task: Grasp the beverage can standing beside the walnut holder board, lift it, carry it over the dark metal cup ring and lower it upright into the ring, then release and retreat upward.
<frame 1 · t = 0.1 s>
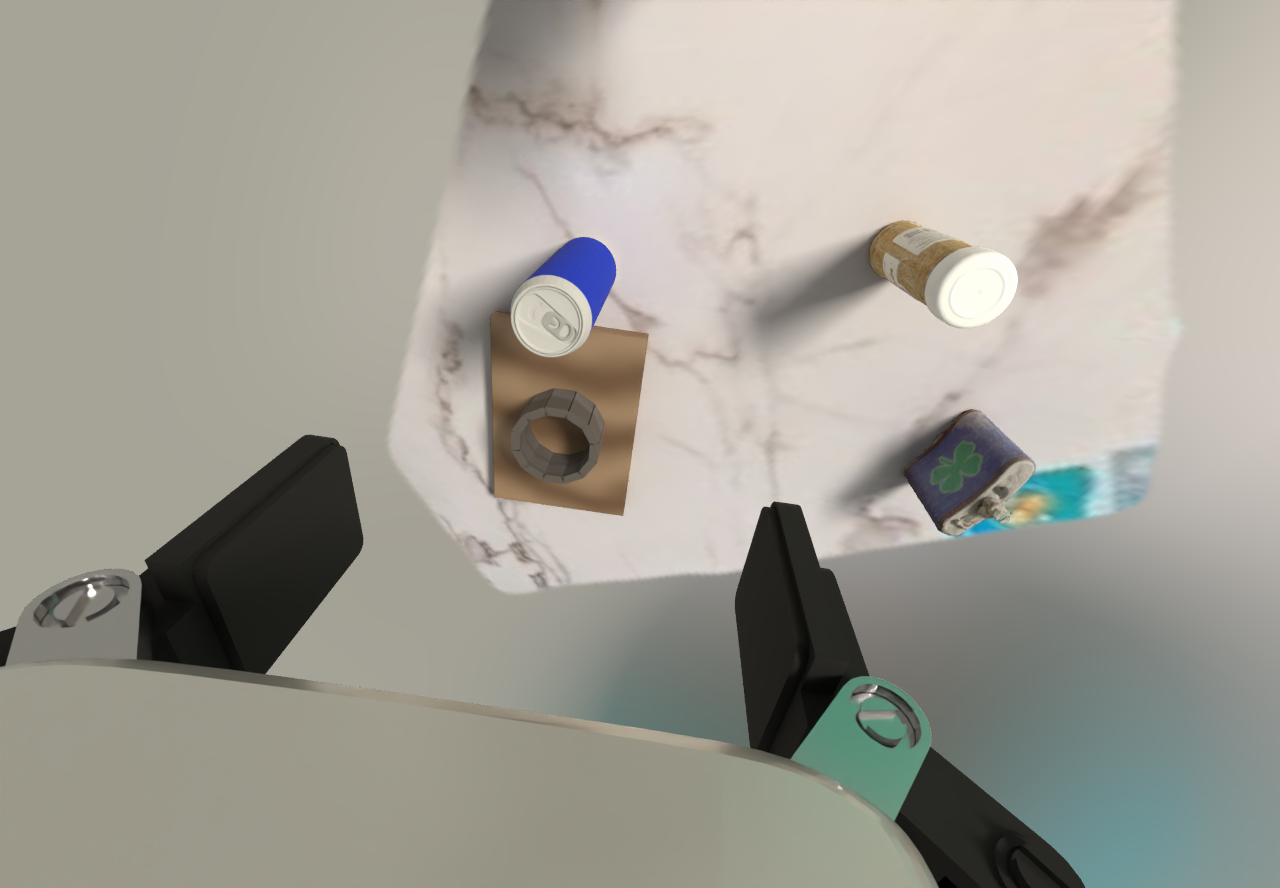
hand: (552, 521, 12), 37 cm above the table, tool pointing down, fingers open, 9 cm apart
flask: (941, 445, 51), on the table
sprinkles bottle: (896, 249, 42), on the table
beverage can: (587, 267, 45), on the table
cup holder: (566, 419, 52), on the table
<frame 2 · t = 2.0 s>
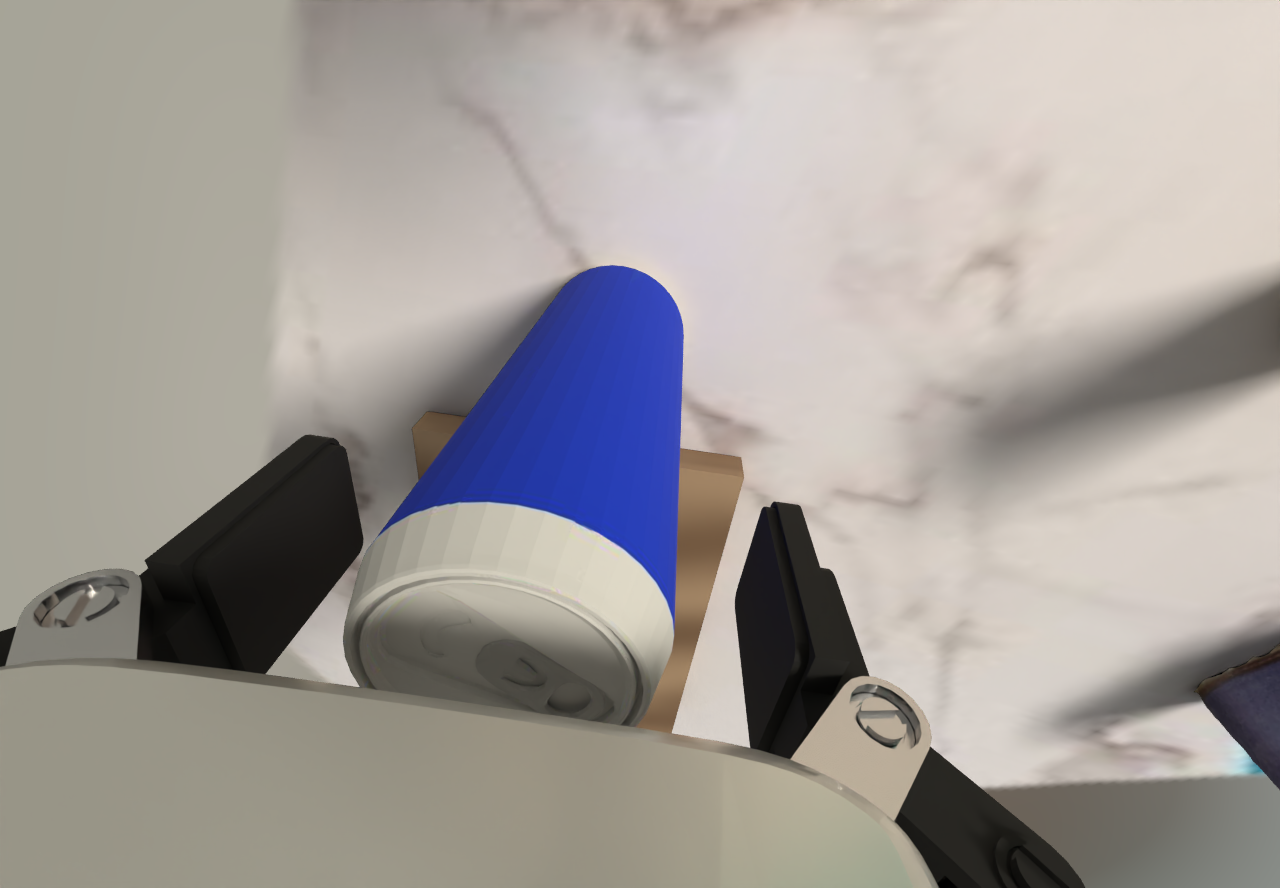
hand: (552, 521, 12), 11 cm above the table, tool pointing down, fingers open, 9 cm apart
beverage can: (618, 327, 20), on the table
cup holder: (572, 589, 28), on the table
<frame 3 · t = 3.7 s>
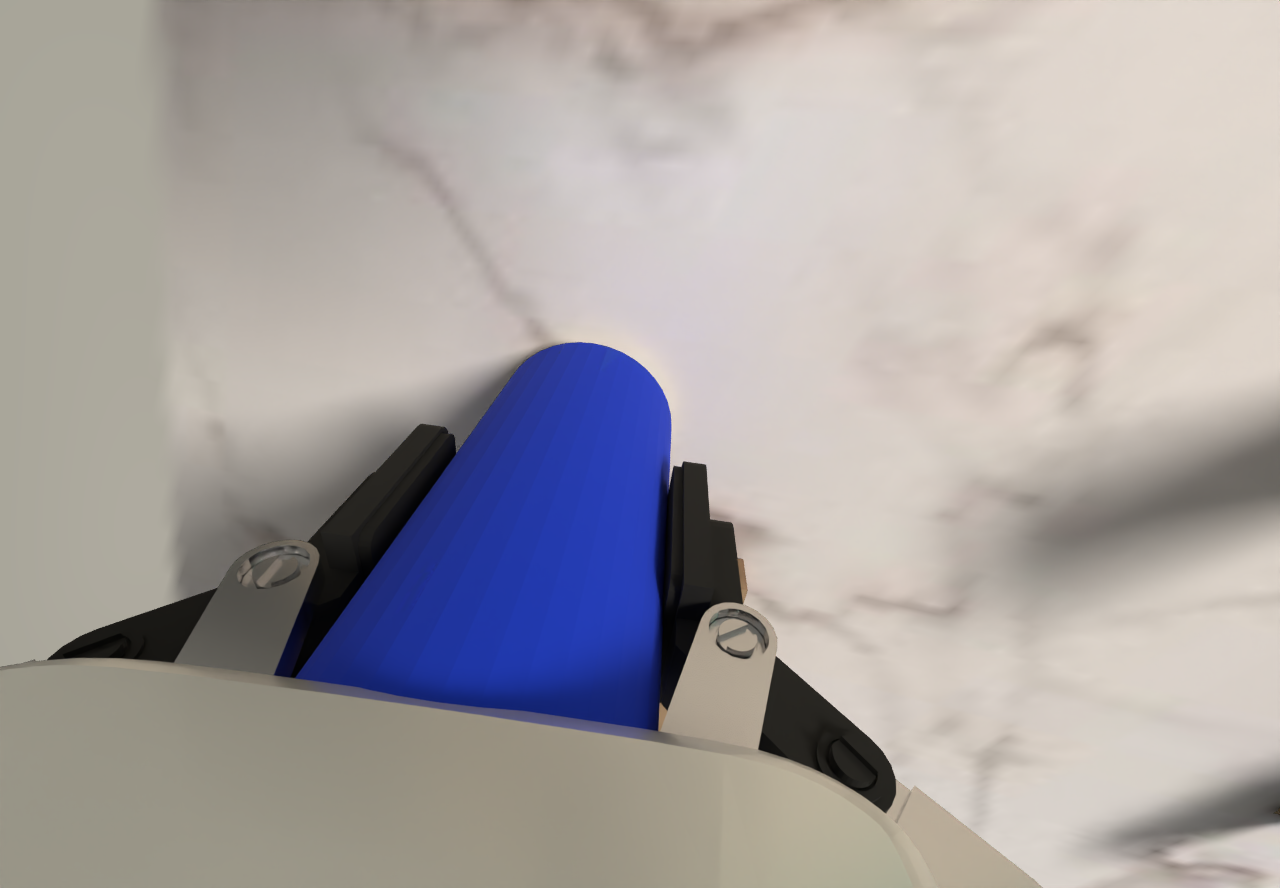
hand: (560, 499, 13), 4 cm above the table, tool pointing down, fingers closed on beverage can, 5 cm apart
beverage can: (590, 411, 17), on the table, touching gripper
cup holder: (544, 698, 24), on the table
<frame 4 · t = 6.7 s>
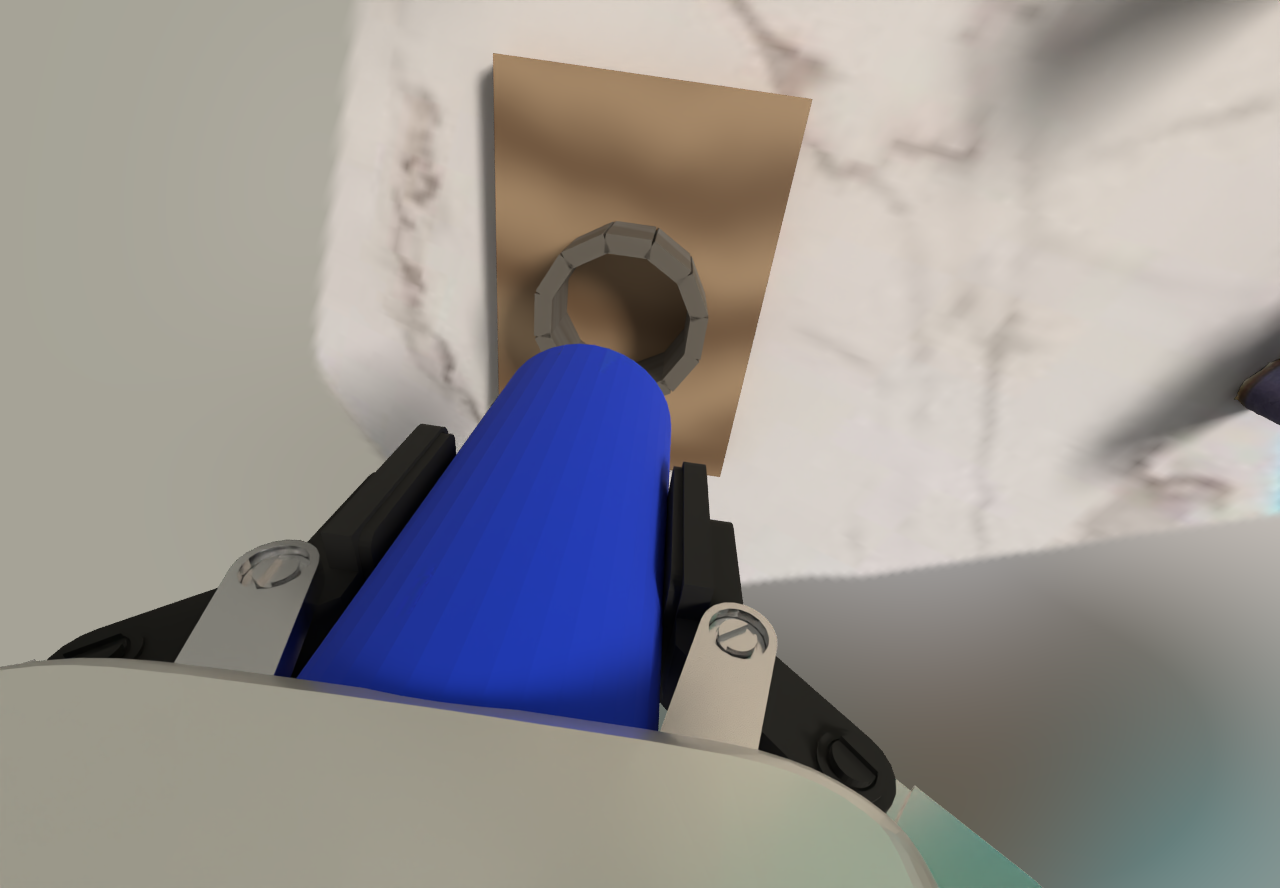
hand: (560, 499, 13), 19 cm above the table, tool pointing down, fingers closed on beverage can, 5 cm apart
beverage can: (590, 412, 16), point 14 cm above the table, touching gripper
cup holder: (629, 296, 29), on the table
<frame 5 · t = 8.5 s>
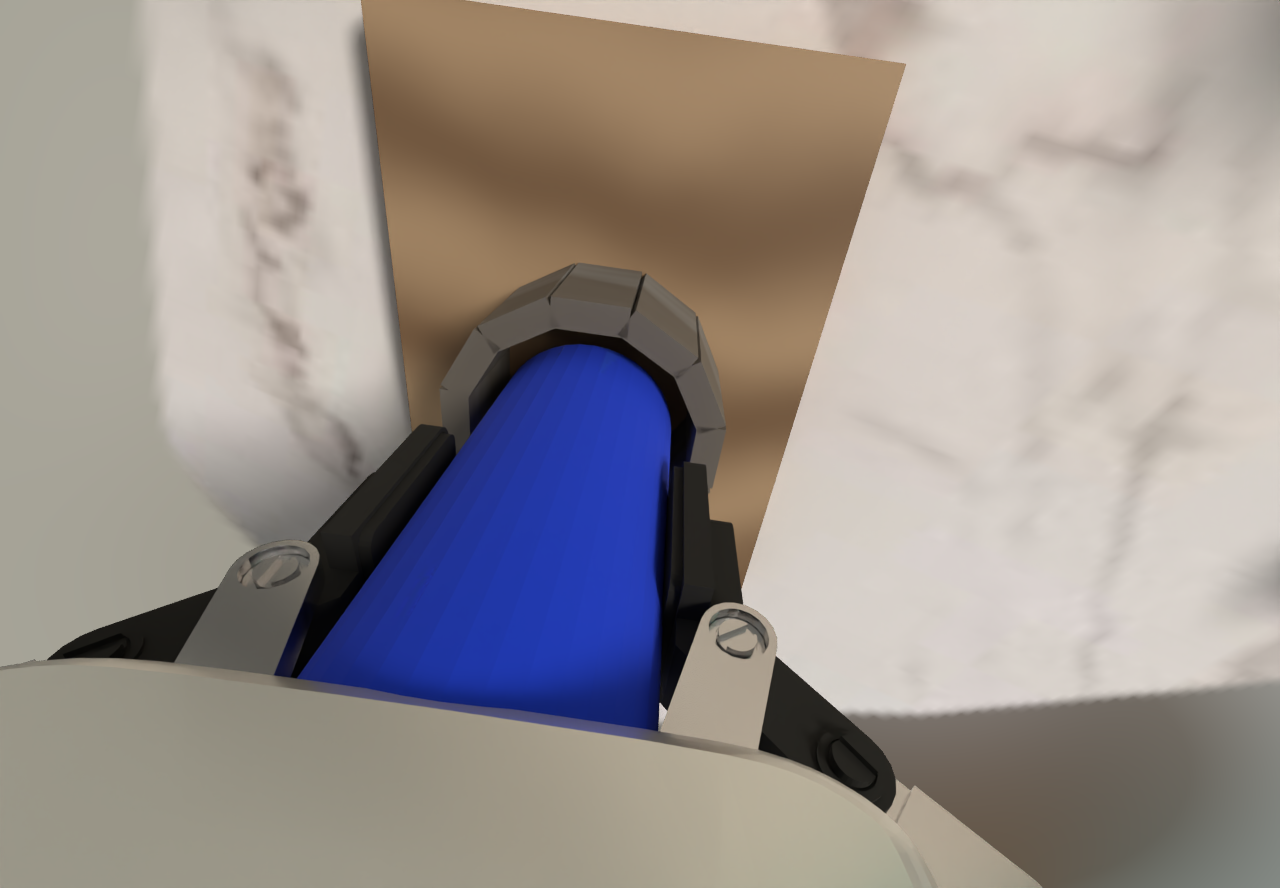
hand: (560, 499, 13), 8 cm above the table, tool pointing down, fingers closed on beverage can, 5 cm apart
beverage can: (590, 413, 16), point 4 cm above the table, touching gripper
cup holder: (605, 367, 20), on the table
when the fingers open (7 cm above the table, at t = 9.7 s): beverage can stays where it is, resting on cup holder.
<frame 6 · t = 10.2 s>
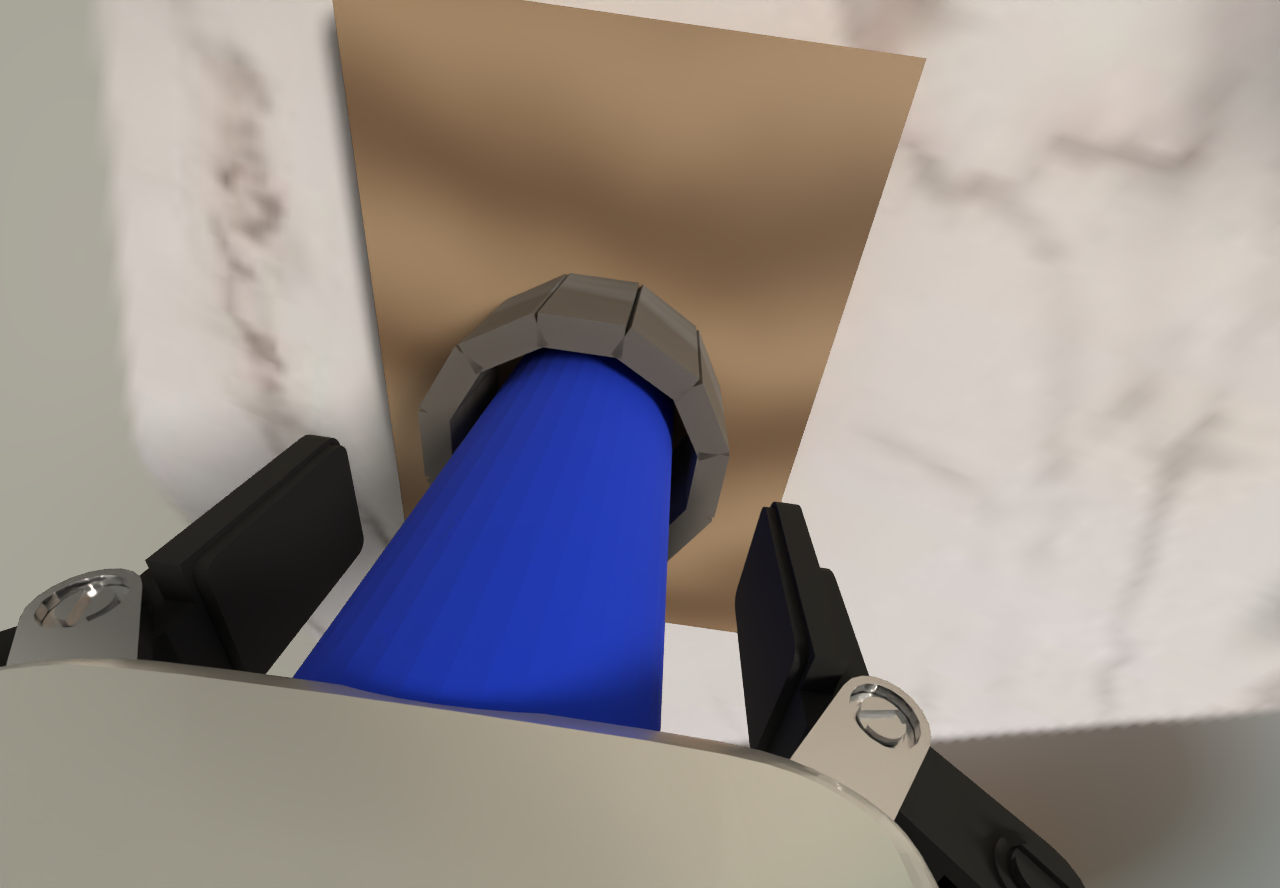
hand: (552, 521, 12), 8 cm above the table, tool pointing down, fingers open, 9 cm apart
beverage can: (596, 393, 17), point 1 cm above the table, touching cup holder
cup holder: (600, 382, 18), on the table
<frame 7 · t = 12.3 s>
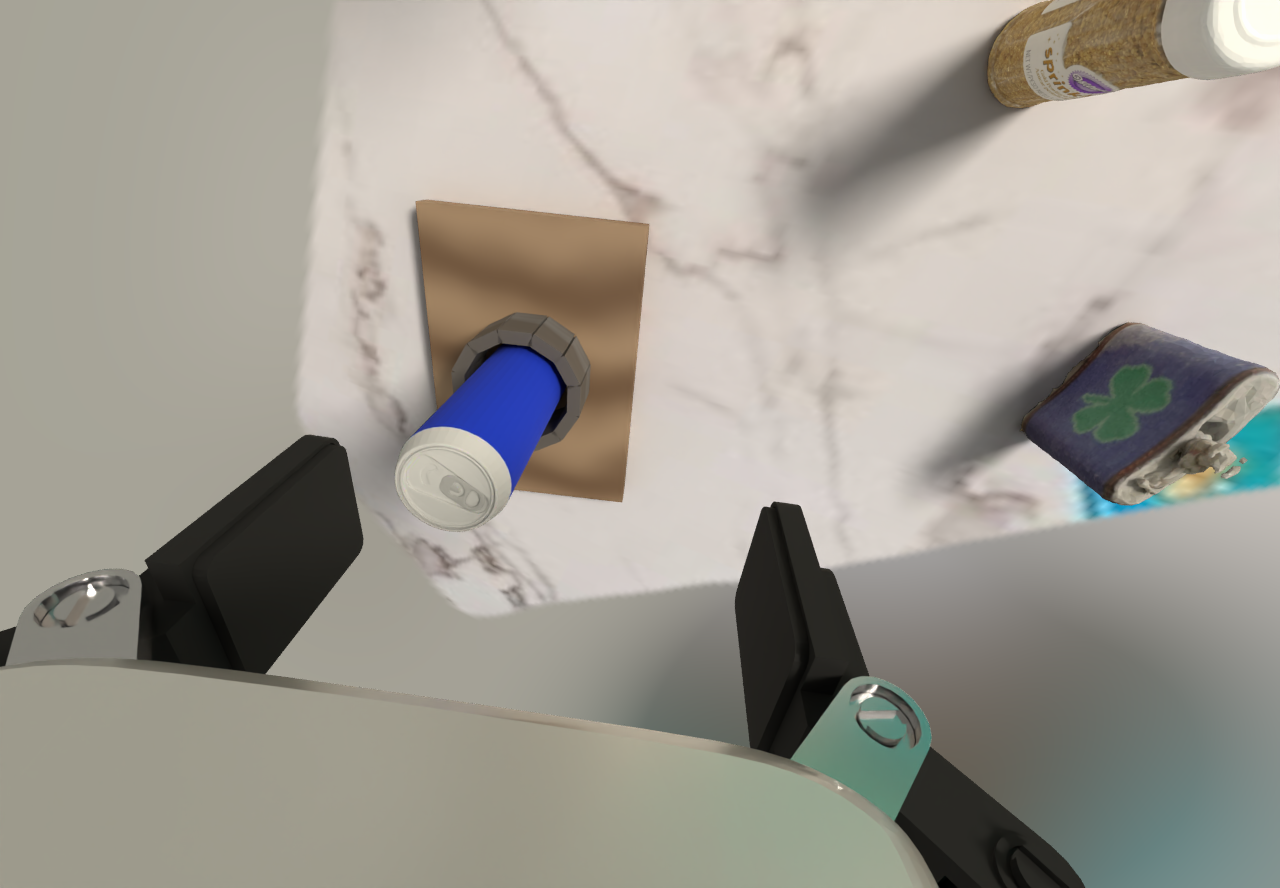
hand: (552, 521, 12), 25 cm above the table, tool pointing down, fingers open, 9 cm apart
flask: (1078, 382, 35), on the table
sprinkles bottle: (1028, 58, 27), on the table
beverage can: (533, 368, 36), point 1 cm above the table, touching cup holder
cup holder: (537, 364, 37), on the table
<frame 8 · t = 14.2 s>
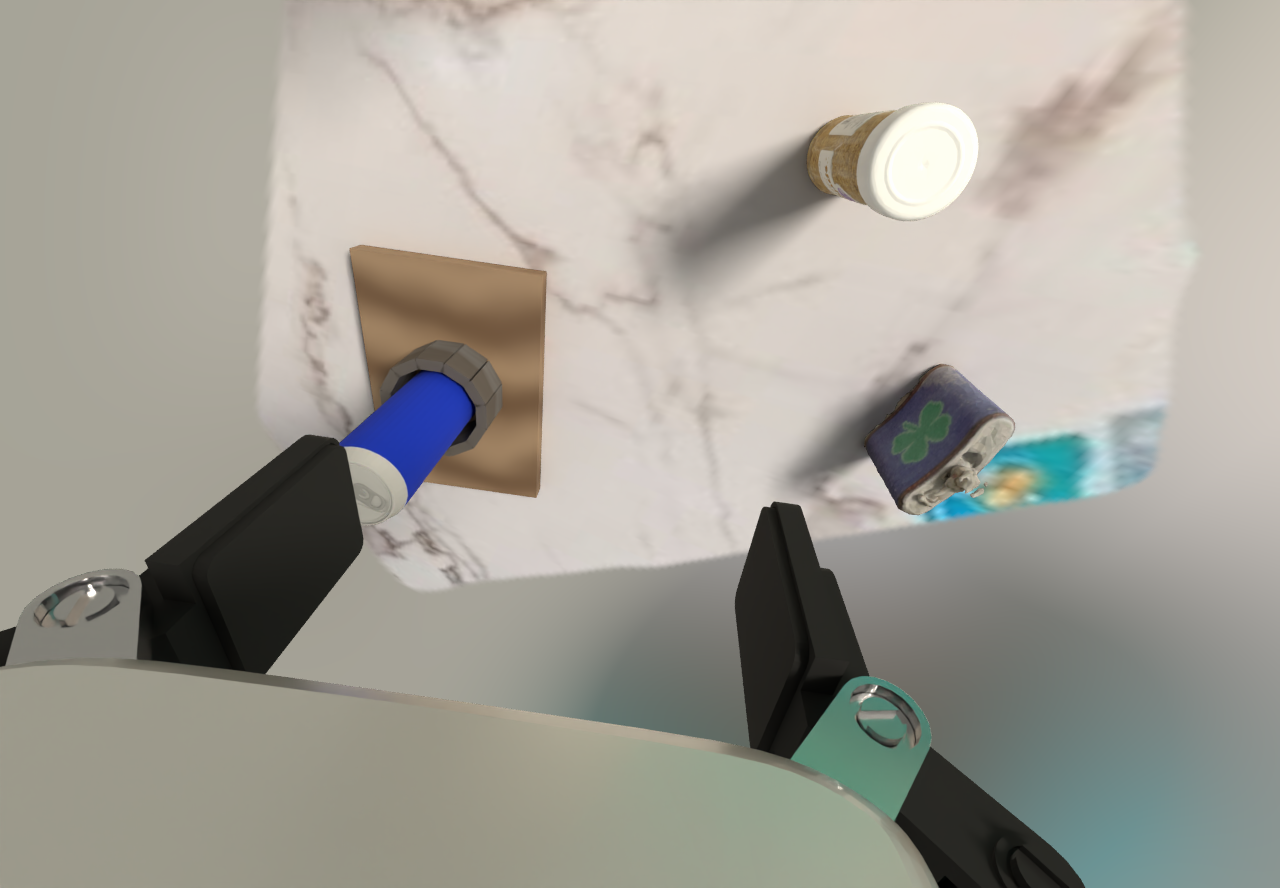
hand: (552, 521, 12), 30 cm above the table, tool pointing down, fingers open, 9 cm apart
flask: (907, 410, 43), on the table
sprinkles bottle: (841, 155, 34), on the table
beverage can: (455, 385, 43), point 1 cm above the table, touching cup holder
cup holder: (460, 380, 44), on the table
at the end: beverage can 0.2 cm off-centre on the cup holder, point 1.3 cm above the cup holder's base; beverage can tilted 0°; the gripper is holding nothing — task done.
